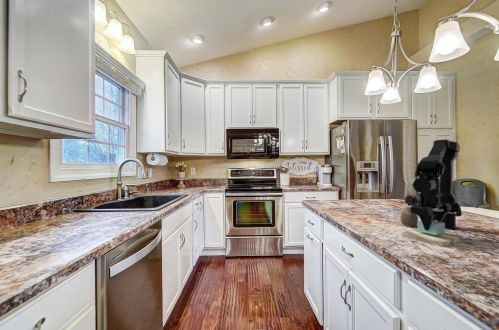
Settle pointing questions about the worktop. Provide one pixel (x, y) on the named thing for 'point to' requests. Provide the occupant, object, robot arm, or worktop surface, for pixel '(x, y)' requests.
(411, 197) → the robot arm
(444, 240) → the board
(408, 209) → the vase
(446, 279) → the worktop surface
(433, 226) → the teal open cube
